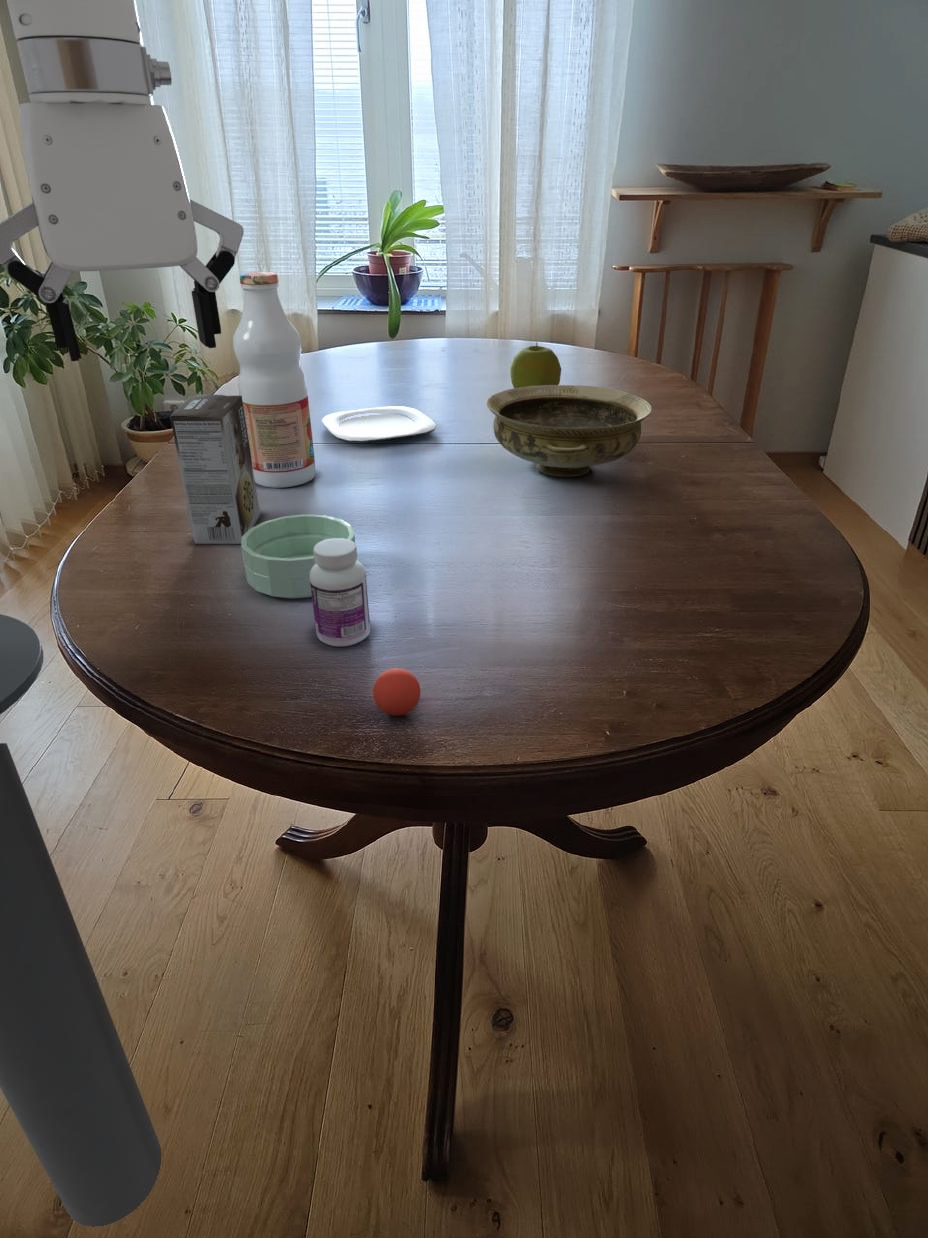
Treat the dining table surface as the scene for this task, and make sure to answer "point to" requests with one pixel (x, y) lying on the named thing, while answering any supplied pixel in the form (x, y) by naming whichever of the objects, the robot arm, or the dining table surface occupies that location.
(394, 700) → the rubber ball
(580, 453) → the ceramic bowl
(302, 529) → the celadon bowl
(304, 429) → the fruit juice
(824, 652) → the dining table surface
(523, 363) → the apple
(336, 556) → the pill bottle
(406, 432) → the plate
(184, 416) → the grey cardboard box
